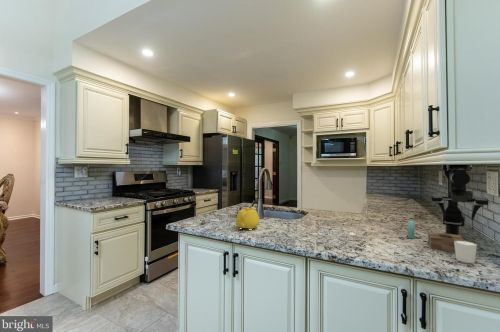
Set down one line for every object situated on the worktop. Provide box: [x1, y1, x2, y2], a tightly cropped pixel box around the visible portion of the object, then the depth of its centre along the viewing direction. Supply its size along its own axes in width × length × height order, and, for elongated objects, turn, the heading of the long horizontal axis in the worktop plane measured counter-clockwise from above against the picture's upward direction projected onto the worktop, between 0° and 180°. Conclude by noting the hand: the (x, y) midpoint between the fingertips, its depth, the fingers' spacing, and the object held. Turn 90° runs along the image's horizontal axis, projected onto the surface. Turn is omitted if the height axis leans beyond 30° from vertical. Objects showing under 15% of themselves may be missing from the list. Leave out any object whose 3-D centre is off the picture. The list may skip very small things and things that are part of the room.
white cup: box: [454, 240, 478, 264], centre depth 96 cm, size 7×7×7 cm
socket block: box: [427, 231, 466, 253], centre depth 112 cm, size 12×12×5 cm
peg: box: [407, 220, 416, 240], centre depth 126 cm, size 3×3×9 cm
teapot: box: [235, 206, 261, 230], centre depth 150 cm, size 14×20×13 cm
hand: (458, 218), depth 107 cm, fingers open, 9 cm apart
